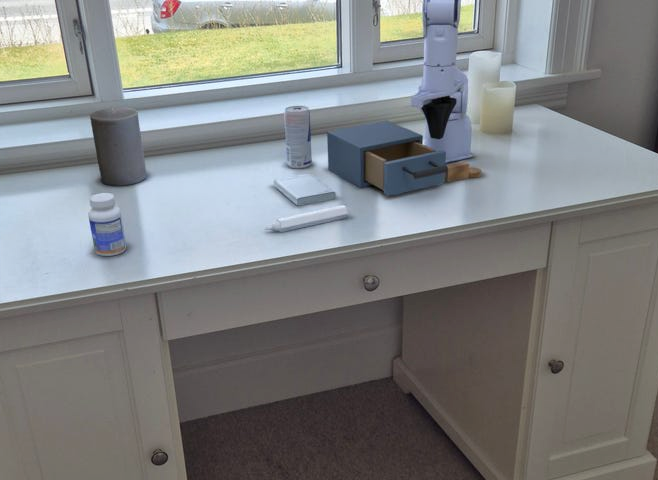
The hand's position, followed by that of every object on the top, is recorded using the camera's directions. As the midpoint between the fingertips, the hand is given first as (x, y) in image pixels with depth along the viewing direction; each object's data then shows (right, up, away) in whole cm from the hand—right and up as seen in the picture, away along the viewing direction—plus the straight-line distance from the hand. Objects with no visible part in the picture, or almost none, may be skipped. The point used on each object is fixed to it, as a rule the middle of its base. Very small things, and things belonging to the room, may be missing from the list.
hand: (436, 137), depth 157 cm
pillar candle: (-64, -4, +18) cm, 66 cm away
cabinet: (-11, -3, +16) cm, 20 cm away
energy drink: (-27, 0, +22) cm, 34 cm away
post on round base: (+6, -5, +11) cm, 14 cm away
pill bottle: (-58, -23, -14) cm, 64 cm away
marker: (-25, -18, -8) cm, 32 cm away
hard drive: (-25, -9, +7) cm, 28 cm away
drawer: (-5, -8, +6) cm, 11 cm away
